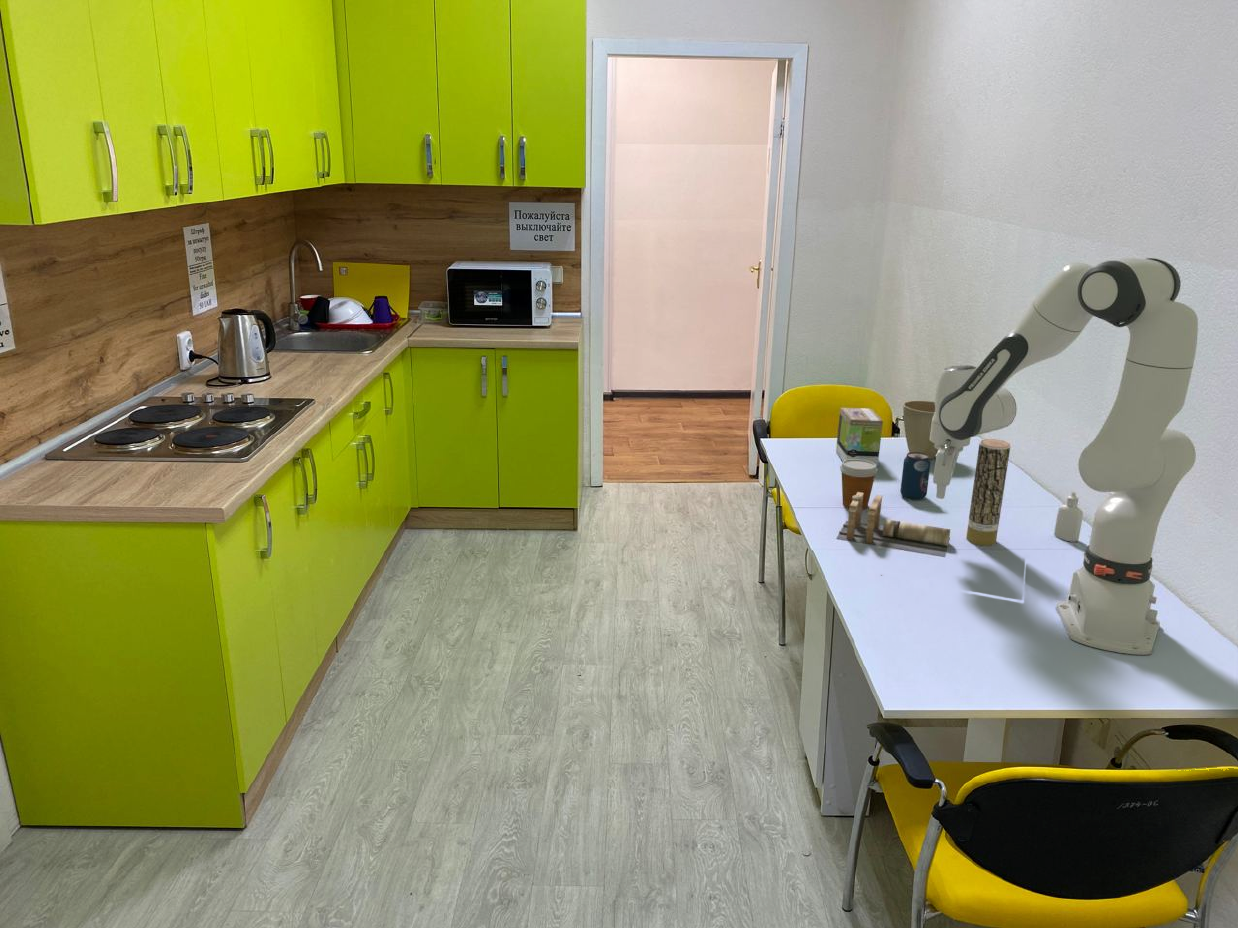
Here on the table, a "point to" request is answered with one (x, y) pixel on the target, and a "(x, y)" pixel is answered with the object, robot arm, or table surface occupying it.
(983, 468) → the paper tube
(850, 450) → the tea box
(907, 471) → the soda can
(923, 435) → the plant pot
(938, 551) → the collar stand
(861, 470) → the disposable coffee cup
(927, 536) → the wooden roller
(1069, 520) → the eye dropper bottle
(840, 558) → the table surface
